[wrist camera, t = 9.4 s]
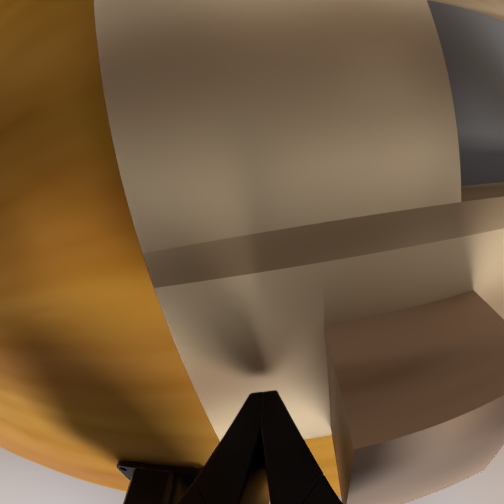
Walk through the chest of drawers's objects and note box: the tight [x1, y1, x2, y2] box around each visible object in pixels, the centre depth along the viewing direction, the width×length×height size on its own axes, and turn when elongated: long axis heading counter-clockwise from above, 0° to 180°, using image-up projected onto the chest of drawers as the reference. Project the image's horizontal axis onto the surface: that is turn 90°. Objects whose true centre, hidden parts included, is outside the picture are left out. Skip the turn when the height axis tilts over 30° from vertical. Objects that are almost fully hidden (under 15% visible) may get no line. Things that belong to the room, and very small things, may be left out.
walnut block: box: [324, 290, 504, 504], centre depth 7 cm, size 5×5×4 cm
